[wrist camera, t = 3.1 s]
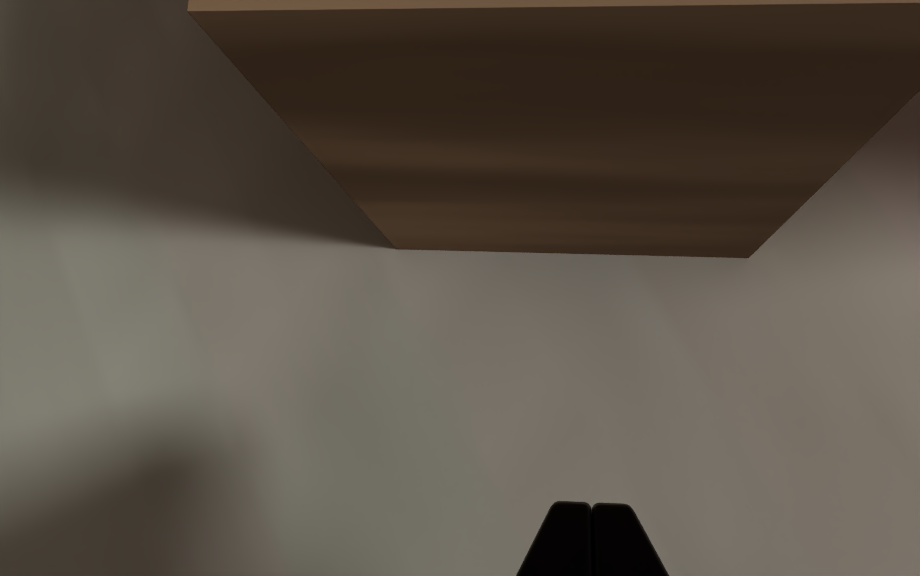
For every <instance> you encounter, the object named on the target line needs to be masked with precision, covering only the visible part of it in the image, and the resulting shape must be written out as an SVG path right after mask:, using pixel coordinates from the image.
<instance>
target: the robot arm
mask: <svg viewBox="0 0 920 576" xmlns="http://www.w3.org/2000/svg"><path fill="white" fill-rule="evenodd" d="M516 576H669V574H668V573H667V571H666V569H665V567H664V565H663V563H662V562H661V560H660V558H659V556H658V554H657V552H656V551H655V549H654V547H653V545H652V543H651V541H650V539H649V538H648V536H647V534H646V532H645V530H644V528H643V527H642V525H641V523H640V521H639V519H638V517H637V516H636V514H635V512H634V510H633V509H632V508H631V507H630V506H629V505H627V504H619V503H596V504H595V505H594V506H593V507H592V510H591V506H590V505H589V504H588V503H586V502H570V501H557V502H555V503H554V504H553V505H552V506H551V507H550V509H549V511H548V513H547V515H546V517H545V519H544V521H543V523H542V525H541V527H540V529H539V531H538V533H537V535H536V537H535V539H534V541H533V543H532V545H531V547H530V549H529V551H528V553H527V555H526V557H525V559H524V561H523V563H522V565H521V567H520V569H519V571H518V573H517V575H516Z"/></svg>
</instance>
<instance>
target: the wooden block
mask: <svg viewBox="0 0 920 576" xmlns="http://www.w3.org/2000/svg"><path fill="white" fill-rule="evenodd" d="M187 11H188V13H189V14H190V15H191V16H192V17H193V18H194V19H195V21H196V22H197V23H198V24H199V25H200V26H201V27H202V29H203V30H204V31H205V32H206V33H207V34H208V35H209V37H210V38H211V39H212V40H213V41H214V42H215V43H216V44H217V46H218V47H219V48H220V49H221V50H222V51H223V52H224V54H225V55H226V56H227V57H228V58H229V59H230V60H231V62H232V63H233V64H234V65H235V66H236V67H237V68H238V70H239V71H240V72H241V73H242V74H243V75H244V76H245V77H246V79H247V80H248V81H249V82H250V83H251V84H252V85H253V87H254V88H255V89H256V90H257V91H258V92H259V93H260V95H261V96H262V97H263V98H264V99H265V100H266V101H267V103H268V104H269V105H270V106H271V107H272V108H273V109H274V110H275V112H276V113H277V114H278V115H279V116H280V117H281V118H282V120H283V121H284V122H285V123H286V124H287V125H288V126H289V128H290V129H291V130H292V131H293V132H294V133H295V134H296V136H297V137H298V138H299V139H300V140H301V141H302V142H303V144H304V145H305V146H306V147H307V148H308V149H309V150H310V151H311V153H312V154H313V155H314V156H315V157H316V158H317V159H318V161H319V162H320V163H321V164H322V165H323V166H324V167H325V169H326V170H327V171H328V172H329V173H330V174H331V175H332V177H333V178H334V179H335V180H336V181H337V182H338V183H339V184H340V186H341V187H342V188H343V189H344V190H345V191H346V192H347V194H348V195H349V196H350V197H351V198H352V199H353V200H354V202H355V203H356V204H357V205H358V206H359V207H360V208H361V210H362V211H363V212H364V213H365V214H366V215H367V216H368V217H369V219H370V220H371V221H372V222H373V223H374V224H375V225H376V227H377V228H378V229H379V230H380V231H381V232H382V233H383V235H384V236H385V237H386V238H387V239H388V240H389V241H390V243H391V244H392V245H393V246H394V247H395V248H396V249H410V250H450V251H489V252H529V253H569V254H609V255H649V256H688V257H728V258H749V257H750V256H751V255H752V254H753V253H754V252H755V251H756V250H757V249H758V248H759V247H760V246H761V245H762V244H763V243H764V242H765V241H766V240H767V239H768V238H769V237H770V236H771V235H772V234H774V233H775V232H776V231H777V230H778V229H779V228H780V227H781V226H782V225H783V224H784V223H785V222H786V221H787V220H788V219H789V218H790V217H791V216H792V215H793V214H794V213H795V212H796V211H797V210H798V209H799V208H800V207H801V206H802V205H803V204H804V203H805V202H806V201H807V200H808V199H809V198H810V197H811V196H812V195H813V194H814V193H815V192H816V191H817V190H818V189H819V188H820V187H821V186H823V185H824V184H825V183H826V182H827V181H828V180H829V179H830V178H831V177H832V176H833V175H834V174H835V173H836V172H837V171H838V170H839V169H840V168H841V167H842V166H843V165H844V164H845V163H846V162H847V161H848V160H849V159H850V158H851V157H852V156H853V155H854V154H855V153H856V152H857V151H858V150H859V149H860V148H861V147H862V146H863V145H864V144H865V143H866V142H867V141H868V140H869V139H870V138H872V137H873V136H874V135H875V134H876V133H877V132H878V131H879V130H880V129H881V128H882V127H883V126H884V125H885V124H886V123H887V122H888V121H889V120H890V119H891V118H892V117H893V116H894V115H895V114H896V113H897V112H898V111H899V110H900V109H901V108H902V107H903V106H904V105H905V104H906V103H907V102H908V101H909V100H910V99H911V98H912V97H913V96H914V95H915V94H916V93H917V92H918V91H919V90H920V0H188V8H187Z"/></svg>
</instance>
